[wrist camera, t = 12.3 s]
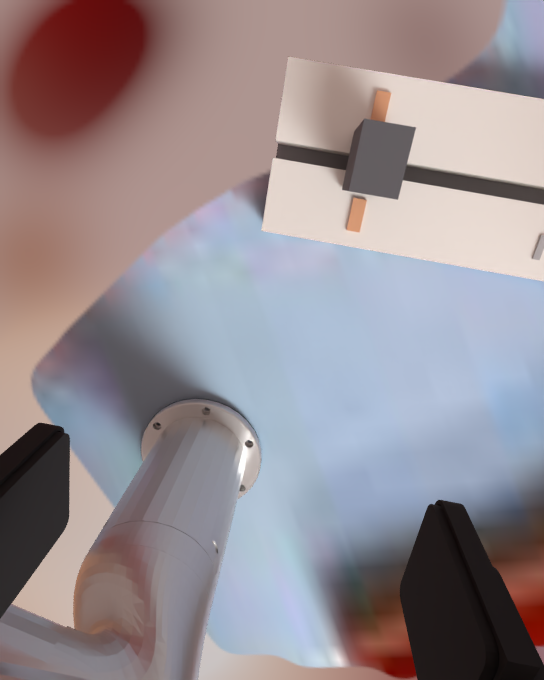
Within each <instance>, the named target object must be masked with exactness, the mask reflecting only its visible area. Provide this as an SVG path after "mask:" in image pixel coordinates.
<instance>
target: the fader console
mask: <svg viewBox="0 0 544 680" xmlns="http://www.w3.org/2000/svg"><path fill="white" fill-rule="evenodd" d="M364 118H365V119H370V120H376V121H382V122H388V123H394V124H400V125H406V126H411V127H416V130H415V134H414V138H413V142H412V146H411V150H410V154H409V158H408V162H407V166H406V170H405V174H404V178H403V182H402V186H401V190H400V194H399V198H398V200H397V199H391V198H385V197H379V196H373V195H367V194H362V193H356V192H350V191H345V190H342V187H343V182H344V177H345V172H346V168H347V163H348V158H349V153H350V148H351V144H352V139H353V134H354V131H355V130H356V128H357V127H358V126H359V125H360V123H361V122H362V121H363V119H364ZM275 140H276V142H277V143H278V149H277V156H276V158H273V159H272V166H271V172H270V179H269V185H268V192H267V198H266V205H265V211H264V218H263V224H262V231H265V232H271V233H277V234H282V235H288V236H293V237H299V238H305V239H310V240H316V241H321V242H327V243H333V244H338V245H344V246H349V247H355V248H361V249H366V250H372V251H377V252H383V253H388V254H394V255H400V256H405V257H411V258H416V259H422V260H428V261H433V262H439V263H444V264H450V265H456V266H461V267H467V268H472V269H478V270H484V271H489V272H495V273H500V274H506V275H512V276H517V277H523V278H528V279H534V280H539V281H544V99H540V98H534V97H528V96H522V95H516V94H510V93H504V92H498V91H492V90H486V89H480V88H474V87H468V86H462V85H456V84H450V83H444V82H438V81H432V80H426V79H421V78H414V77H408V76H402V75H397V74H390V73H385V72H379V71H373V70H367V69H361V68H354V67H348V66H342V65H337V64H331V63H325V62H319V61H313V60H307V59H301V58H295V57H289V56H288V61H287V68H286V74H285V80H284V87H283V94H282V101H281V107H280V113H279V120H278V127H277V133H276V139H275Z"/></svg>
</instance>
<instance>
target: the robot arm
mask: <svg viewBox="0 0 544 680" xmlns="http://www.w3.org/2000/svg"><path fill="white" fill-rule="evenodd" d="M206 407H207V408H209V409H207V408H206ZM249 440H251V441H249ZM141 454H142V461H143V463H142V465H141V467H140V468H139V470H138V472H137V473H136V475H135V476H134V478H133V480H132V481H131V483H130V485H129V486H128V488H127V489H126V491H125V493H124V494H123V496H122V498H121V499H120V501H119V503H118V504H117V506H116V507H115V509H114V511H113V512H112V514H111V516H110V518H109V519H108V520H107V522H106V524H105V525H104V527H103V529H102V530H101V532H100V534H99V535H98V537H97V539H96V540H95V542H94V544H93V545H92V547H91V548H90V550H89V552H88V554H87V555H86V557H85V559H84V561H83V563H82V565H81V568H80V570H79V573H78V576H77V580H76V585H75V591H74V602H73V604H74V605H73V606H74V607H73V617H74V628H75V629H73V628H71V627H68V626H67V627H64V626H62V625H60V624H57V623H55V622H53V621H50V620H48V619H45V618H43V617H41V616H38V615H36V614H34V613H31V612H29V611H26V610H24V609H22V608H20V607H17V606H15V605H13V604H11V603H12V602H13V601H14V599H15V598H16V597H17V595H18V594H19V592H20V591H21V590H22V588H23V587H24V585H25V584H26V583H27V581H28V580H29V578H30V577H31V576H32V574H33V573H34V571H35V570H36V569H37V567H38V566H39V565H40V563H41V562H42V560H43V559H44V558H45V556H46V555H47V553H48V552H49V551H50V549H51V548H52V547H53V545H54V544H55V542H56V541H57V540H58V538H59V537H60V535H61V534H62V533H63V531H64V530H65V528H66V525H67V523H68V519H69V461H70V438H69V435H68V434H66V433H64V429H63V428H62V427H61V426H55V425H50V424H45V423H38V424H36V425H35V426H34V427H33V428H31V429H30V430H29V431H28V432H27V433H25V435H23V436H22V437H21V438H20V439H18V441H16V442H15V443H14V444H13V445H12V446H10V447H9V448H8V449H7V450H6V451H5V452H3V453H2V454H1V455H0V680H198V675H199V667H200V661H201V656H202V650H203V644H204V638H205V634H206V629H207V625H208V620H209V615H210V611H211V607H212V602H213V598H214V594H215V590H216V586H217V582H218V578H219V573H220V569H221V565H222V561H223V557H224V553H225V548H226V544H227V540H228V536H229V532H230V528H231V523H232V519H233V515H234V511H235V507H236V503H237V500H238V499H239V498H240V497H242V496H243V495H245V494H246V493H247V492H248V491H249V490H250V488H251V487H252V486H253V485H254V483H255V481H256V479H257V477H258V474H259V471H260V466H261V460H262V458H261V447H260V443H259V439H258V437H257V435H256V433H255V431H254V429H253V428H252V427H251V426H250V424H249V423H248V422H247V420H245V419H244V418H243V417H242V416H241V415H240V414H239V413H237V412H236V411H234V410H233V409H231V408H230V407H228V406H225V405H223V404H220V403H218V402H214V401H210V400H204V399H189V400H182V401H179V402H176V403H173V404H171V405H169V406H167V407H165V408H163V409H162V410H161V411H160V412H159V413H157V414H156V415H155V416H154V418H153V419H152V420H151V422H150V423H149V425H148V426H147V428H146V430H145V432H144V435H143V438H142V443H141ZM400 599H401V604H402V608H403V613H404V618H405V622H406V627H407V632H408V636H409V641H410V646H411V651H412V655H413V660H414V665H415V669H416V674H417V679H418V680H544V665H543V662H542V660H541V658H540V656H539V654H538V652H537V650H536V648H535V646H534V644H533V642H532V640H531V638H530V635H529V633H528V631H527V629H526V627H525V625H524V623H523V621H522V619H521V617H520V615H519V613H518V611H517V608H516V606H515V604H514V602H513V600H512V598H511V596H510V594H509V592H508V590H507V588H506V586H505V584H504V581H503V579H502V577H501V575H500V574H499V572H498V571H497V569H495V568H494V567H493V566H492V564H491V562H490V560H489V558H488V556H487V554H486V552H485V549H484V547H483V545H482V543H481V541H480V539H479V537H478V535H477V533H476V530H475V528H474V526H473V524H472V522H471V520H470V518H469V516H468V513H467V511H466V509H465V507H464V506H463V505H462V504H459V503H454V502H448V501H443V500H438V501H437V502H436V503H435V505H433V504H430V505H429V506H428V508H427V510H426V513H425V516H424V519H423V521H422V524H421V527H420V530H419V533H418V536H417V538H416V541H415V544H414V547H413V550H412V553H411V555H410V558H409V561H408V564H407V567H406V570H405V572H404V575H403V578H402V581H401V585H400Z"/></svg>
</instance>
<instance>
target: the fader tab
mask: <svg viewBox="0 0 544 680" xmlns="http://www.w3.org/2000/svg"><path fill="white" fill-rule="evenodd" d="M415 130H416V127H411V126H406V125H400V124H394V123H388V122H382V121H376V120H370V119H365V118H364V119H363V121H362V122H361V123H360V125H359V126H358V127H357V128H356V130H355V131H354V134H353V139H352V144H351V148H350V153H349V158H348V163H347V168H346V172H345V177H344V182H343V187H342V190H345V191H350V192H356V193H362V194H367V195H373V196H379V197H385V198H391V199H397V200H398V198H399V194H400V190H401V186H402V182H403V178H404V174H405V170H406V166H407V162H408V158H409V154H410V150H411V146H412V142H413V138H414V134H415Z"/></svg>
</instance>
